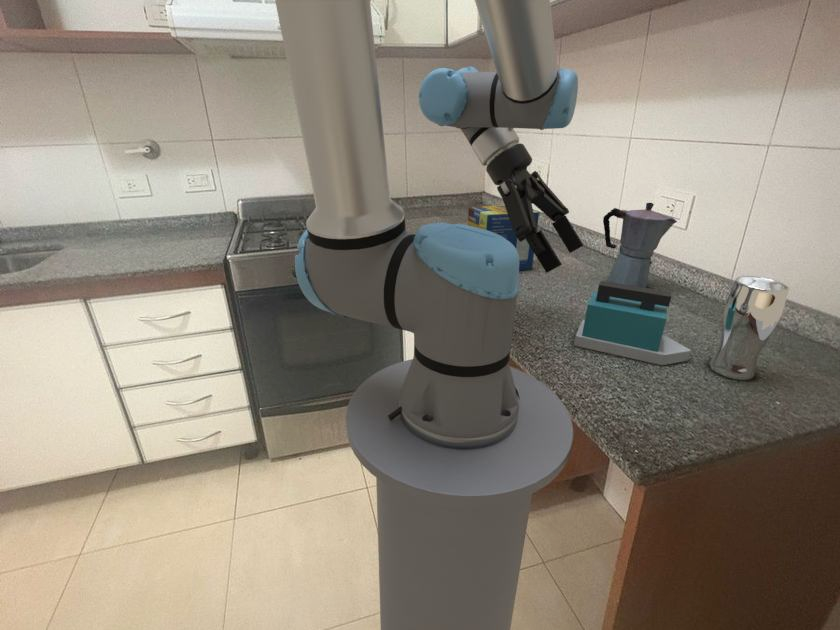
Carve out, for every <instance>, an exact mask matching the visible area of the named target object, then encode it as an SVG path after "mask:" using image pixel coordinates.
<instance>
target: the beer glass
mask: <svg viewBox="0 0 840 630" xmlns="http://www.w3.org/2000/svg"><path fill="white" fill-rule="evenodd" d="M789 291H790V286H789V285H787V284H785V283H783V282H781V281H779V280H775V279H771V278H767V277H761V276H754V275H740V276H737V277H735V280H734V282H733V285H732V286H731V289H730V291H729V294H728V296H727V298H726V302H725V305H724V308H723V312H722V318H721V327H720V337H719V343H718V346H717V349H716V351H715V353H714V355H713V356H712V357H711V358H710V359H711V360H710V361H709V367H710V369H711V370H712V371H713V372H715V373H717V374H718V375H721V376H722V377H725V378H728V379H733V380H737V381H749V380H752V379H754V377H755V374H756V365H757V361H758V358H759V355H760V354H761V351H762V350H763V348H764V346H765V345H766V343H767V342H768V340H769V339H770V337H771V336H772V334H773V333H774V331H775V330H776V327H777V326H778V324H779V321H780V319H781V317H782V314H783V312H784V309H785V306H786V303H787V298H788V294H789Z"/></svg>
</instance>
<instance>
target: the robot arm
mask: <svg viewBox="0 0 840 630" xmlns="http://www.w3.org/2000/svg"><path fill="white" fill-rule="evenodd" d="M274 2H275V6H276V7H275V8H276V12H277V17H278V21H279V27H280V31H281V32H280V33H281V37H282V42H283V47H284V52H285V58H286V63H287V67H288V72H289V73H288V74H289V77H290V81H291V82H290V83H291V87H292V91H293V97H294V103H295V107H296V113H297V119H298V122H299V128H300V133H301V138H302V143H303V147H304V148H303V149H304V151H305V152H304V153H305V159H306V163H307V169H308V172H309V178H310V179H309V180H310V183H311V189H312V193H313V198H314V203H315V208H314V209H313V211H312V212H311V214H310V215H309V216H308V218H307V219H306V222H305V224H306V225H305V227H306V229H305V231H304V232H303V233H302V234H301V236H300V238H299V240H298V242H297V246H296V248H297V250H298V252H299V253H298V254H296V255H295V256H294V271H295V276H296V280H297V283H298V285H299V288H300V290H301V293H302V294H303V295H304V297H305V298H306V299H307V300H308V302H309V303H311V304H312V305H313V306H314V307H316V308H317V309H320V310H322V311H325V312H327V313H331V314H332V315H334V316H338V317H341V318H344V319H355V320H360V321H363V322H367V323H372V324H375V325H381V326H385V327H389V328H393V329H397V330H401V331H405V332H409V333H412V334H413V357H412V359H413V360H412V362H411V365H410V368H409V370H408V373H407V376H406V378H405V381H404V383H403V386H402V389H401V392H400V396H399V408H398V409H396V410H395V411H394V412H392V413H391V414H389V415H388V417H389V419H390V420H393V419H394V418H395V417H397V416H398V415H399V414H400V417H401V420H402V422H403V424H404V425H405V426H406V427H407V428H408V430H409V431H411V432H412V433H413V434H414V435H416V436H417V437H419V438H421V439H422V440H424V441H427V442H429V443H432V444H434V445H438V446H441V447H446V448H452V449H476V448H482V447H486V446H490V445H493V444H495V443H498V442H500V441H501V440H503V439H505V438H506V437H507V436H508V435H509V434H511V432H512V431H513V430H514V428H515V426H516V424H517V419H518V411H519V404H518V398H519V394H518V391H517V389H516V388H515V385H514V381H513V377H512V373H511V369H510V367H511V366H510V357H511V348H512V341H513V333H514V324H515V316H516V309H517V300H518V295H519V293H520V288H521V287H520V282H519V276H520V271H519V255H518V252H517V250H516V248H515V247H514V245H513V244H512V243H510V242H509V241H508V240H507V239H505V238H504V237H502V236H500V235H498V234H496V233H493V232H491V231H488V230H485V229H481V228H478V227H473V226H468V224H463V223H454V224H452V223H448V222H433V223H426V224H424V225H421V226H420V227H419V228H418V229H417V231H416V233H409V232H407V226H406V217H405V216H406V215H405V211H404V208H403V207H401V206H400V205H399V204H398V203H397V202H395V201H394V200H393V199H392V198H391V193H390V185H389V173H388V164H387V154H386V144H385V137H384V136H385V135H384V125H383V115H382V114H383V113H382V105H381V96H380V86H379V76H378V66H377V57H376V47H375V38H374V27H373V20H372V19H373V17H372V8H371V7H372V6H371V0H274ZM474 2H475V5H476V9H477V12H478V16H479V18H480V22H481V25H482V28H483V32H484V35H485V38H486V42H487V44H488V48H489V51H490V54H491V57H492V61H493V64H494V68H495V71H478V69H477V68H476V67H473V66H467V67H461V68H459V69H458V70H456V69H455V68H447V67H439V68H435V69H433V70H432V71H431V72H429V73H428V74H427V75H426V76H425V77H424V79H423V80H422V82H421V84H420V87H419V92H418V105H419V108H420V110H421V113H422V114H423V116H424V117H425V118H426V119H427V120H428V121H429V122H432V123H434V124H436V125H437V126H439V127H452V128H456V129H459V130H460V131H461V132H462V134H463V135H464V137H465V138H466V140H467V141H468V143H469V145H470V147H471V148H472V150H473V152H474V153H475V155H476V157H477V159H478V160H479V161H480V164H481V166H485V168H486V169H485V171H486V172H487V174H488V176H489V178H490V179H491V181H492V183H493V184H494V185H495V186H497V187H496V189H497V191H498V193H499V195H500V197H501V199H502V201H503V205H505V207H506V210H507V213H508V216H509V219H510V222H511V224H512V227H513V230H514V233H515V236H516V237H517V238H518V240H519V241H520V242H522V241H523V240H525V239H526V241H527V242H528V244H529V245H530V247H531V249H532V250H533V252H534V256H535V257H536V259H537V260H538V262H539V264H540V265H541V267H542V268H543V270H544V272H545V273H546V274H547V273H550V272H551V271H553V270H555V269H556V268H558V267H560V266H562V262H561V260H560V259H559V257H558V256H557V254H556V252H555V250H554V248H553V247H552V246H551V244H550V242H549V240H548V239H547V237H546V236H545V234H544V232H543V231H542V229H541V230H538V226H536V221H535V217H534V213H533V210H534V208H533V205H534V206H535V207H536V208H537V209H538V210H540V211H541V212H542V213H543V214H544V215H545V216H546V217H548V218H549V219H550V220H551V222H552V223H551V225H552V226H553V228H554V230H555V231H556V233H557V234H558V236H559V238H560V239H561V241H562V242H563V245H564V246H565V248H566V249H567V251H568V252H569V254H571V253H573V252H574V251H576V250H578V249H581V248H582V247H583V246H584V243H583V242H582V239H581V238H580V237H579V235H578V233H577V232H576V230H575V228H574V226H573V225H572V223H571V221H570V220H569V218H568V216H567V215H568V214H570V210H569V208H568V207H567V206H565V205H564V204H563V201H561V200H560V199H559V198H558V196H557V195H556V193H554V192H553V190H552V189H551V188H550V187H549V186H548V185H547V184H546V183H545V181H544V180H543V179H542V177H541V175H540V174H539V173H538V171H537V170H534V171H533V172H531V173H530V172H529V171H528V167H529V166H530V165H531V164H532V163H533V158H532V156H531V154H530V153H529V151H528V149H527V148H526V146H525V145H524V143H520V137H519V135H518V134H517V132H516V131H515V129H529V130H539V131H544V130H551V129H553V130H555V129H565V128H567V127H568V126H569V125H570V124H571V122H572V120H573V117H574V114H575V110H576V105H577V98H578V92H579V91H578V90H579V78H578V75H577V73H576V71H574V70H573V69H565V68H563V67H560V68H559V67H558V57H557V49H556V42H555V33H554V25H553V13H552V8H551V0H474ZM519 228H520V229H519ZM536 232H537V233H536ZM517 396H518V398H517ZM519 400H520V398H519Z"/></svg>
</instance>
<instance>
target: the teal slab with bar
mask: <svg viewBox="0 0 840 630" xmlns="http://www.w3.org/2000/svg"><path fill="white" fill-rule="evenodd" d="M671 300H672V291H667V290H661V289H653V288H648V287H646V288H643V287H636V286H630V285H624V284H618V283H611V282H608V281H604V280H600V282H599V284H598V288H597V291H593V292H592V294H591V296H590V298H589V300H588V303H587V306H586V312H585V317H584V319H582V320H581V323H580V325H579V327H578V329H577V332H576V334H575V337H574V342H573V346H574V347H578V348H583V349H587V350H590V351H591V350H592V351H596V352H601V353H604V354H609V355H614V356H618V357H623V358H626V359H631V360H636V361H640V362H644V363H651V364H653V365H659V366H666V365H671V364H676V363H684V362H688V361H689V359H690V357H691V353H692V350H691V349H690V348H688V347H686V346H685V345H682V344H681V343H679V342H677V341H676V340H674V339H672V338H670V337H668V336H667V335H663V334H664V330H665V327H666V323H667V319H668V318H667V317H668V308H669V307H670V303H671Z"/></svg>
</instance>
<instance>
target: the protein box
mask: <svg viewBox="0 0 840 630" xmlns="http://www.w3.org/2000/svg"><path fill="white" fill-rule="evenodd" d="M467 213H468V214H467V225H468V226H473V227H478V228H481V229H485V230H488V231H491V232H493V233H496V234H498V235H500V236H502V237H504V238H505V239H507V240H508V241H509V242H510V243H512V244H513V245H514V247H515V248H516V250H517V252H518V255H519V272H521V271H528V270H532V269H533V266H534V265H533V264H534V256H535V254H534V252H533V250H532V249H531V247H530V245H529V244H528V242H527V241H526V239H525V240H523V241H522V242H520V241H519V240H518V238H517V237H516V236H515V233H514V230H513V227H512V224H511V222H510V219H509V216H508V213H507V210H506V207H505V204H502V205H486V206H485V205H484V206H483V205H482V206H469V207H468V212H467ZM533 213H534V217H535V221H536V226H537V227H538V224H539V217H540V212H539V211H537V210H534V209H533ZM519 229H520V228H519ZM537 232H538V231H537ZM537 232H536V233H537Z"/></svg>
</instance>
